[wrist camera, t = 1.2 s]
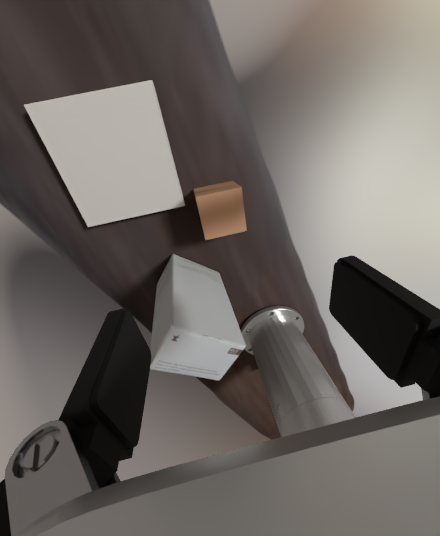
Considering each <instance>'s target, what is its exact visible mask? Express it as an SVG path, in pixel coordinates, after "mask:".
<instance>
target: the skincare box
mask: <svg viewBox="0 0 440 536" xmlns="http://www.w3.org/2000/svg"><path fill="white" fill-rule="evenodd" d="M245 347H246V344H245V341H244V339H243V336H242V333H241V331H240V328H239V325H238V323H237V320H236V317H235V315H234V312H233V309H232V306H231V304H230V301H229V298H228V296H227V293H226V290H225V288H224V285H223V282H222V279H221V277H220V274H219V272H216V271H214V270H212V269H209V268H207V267H204V266H202V265H200V264H197V263H195V262H192V261H190V260H187V259H184V258H182V257H179V256H177V255H175V254H172V256H171V258H170V260H169V262H168V264H167V265H166V267H165V269H164V271H163V273H162V275H161V277H160V279H159V281H158V283H157V290H156V299H155V309H154V318H153V328H152V337H151V347H150V351H151V365H150V369H153V370H159V371H165V372H172V373H178V374H184V375H190V376H196V377H202V378H207V379H213V380H218V381H219V380H220V379H221V378H222V377H223V375H224V374H225V373H226V372H227V370H228V369H229V368H230V366H231V365H232V364H233V363H234V361H235V360H236V359H237V357H238V356H239V355H240V353H241V352H242V351H243V349H244V348H245Z"/></svg>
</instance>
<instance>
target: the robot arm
mask: <svg viewBox="0 0 440 536" xmlns="http://www.w3.org/2000/svg"><path fill="white" fill-rule="evenodd" d="M329 309H330V312H331V314H332V316H334V318H335V319H336V320H337V321H338V322H339V323H340V324H341V325H342V327H343V328H344V329H345V330H346V331H347V332H348V333H349V335H350V336H351V337H352V338H353V339H354V340H355V341H356V342H357V343H358V345H359V346H360V347H361V348H362V349H363V350H364V351H365V353H366V354H367V355H368V356H369V357H370V358H371V359H372V360H373V361H374V363H375V364H376V365H377V366H378V367H379V368H380V369H381V370H382V372H383V373H384V374H385V375H386V376H387V377H388V378H390V379H392V380H394V381H395V382H396V383H397V384H398V385H399V386H400V387H405V386H409V385H412V384H415V382H416V383H417V384H418V385H419V386H420V387H421V389H422V395H423V401H419V402H415V403H411V404H407V405H403V406H399V407H395V408H392V409H388V410H384V411H380V412H377V413H372V414H368V415H365V416H361V417H357V418H356V417H355V416H354V414H353V413H352V411H351V409H350V408H349V406H348V405H347V403H346V402H345V400H344V399H343V397H342V395H341V394H340V392H339V391H338V389H337V388H336V386H335V384H334V383H333V381H332V380H331V378H330V377H329V375H328V373H327V372H326V370H325V369H324V367H323V366H322V364H321V363H320V361H319V359H318V358H317V356H316V355H315V353H314V352H313V350H312V348H311V347H310V345H309V344H308V342H307V341H306V339H305V337H304V336H303V334H302V333H303V331H304V321H303V319H302V317H301V316H300V314H299V313H298V312H297V311H296V310H294V309H292V308H290V307H287V306H272V307H268V308H265V309H262V310H260V311H258V312H256V313H255V314H253V315H252V316H251V317H249V318H248V319H247V320H246V322H245V323H244V324H243V326H242V328H241V333H242V336H243V339H244V341H245V344H246V347H245V348H244V349H245V350H246V351H247V352H248V353H250V354H252V355H254V357H255V360H256V363H257V366H258V369H259V372H260V375H261V378H262V381H263V384H264V387H265V389H266V392H267V395H268V398H269V401H270V404H271V407H272V410H273V413H274V416H275V419H276V422H277V425H278V428H279V431H280V434H281V438H277V439H273V440H269V441H266V442H262V443H259V444H254V445H251V446H247V447H243V448H239V449H236V450H232V451H229V452H225V453H221V454H217V455H213V456H210V457H206V458H203V459H199V460H195V461H191V462H188V463H184V464H180V465H176V466H173V467H169V468H166V469H162V470H159V471H155V472H152V473H149V474H145V475H142V476H138V477H135V478H131V479H128V480H124V481H120V479H119V477H118V476H117V474H116V471H117V468H118V463H119V461H121V460H125V459H128V458H132V453H133V447H135V446H137V444H138V440H139V434H140V429H141V422H142V416H143V409H144V403H145V396H146V390H147V384H148V376H149V371H150V365H151V351H150V349H149V347H148V345H147V343H146V341H145V339H144V338H143V336H142V334H141V332H140V330H139V328H138V326H137V324H136V322H135V320H134V318H133V316H132V314H131V313H130V311H126V310H125V309H119V310H115V311H111V312H109V313H108V314H107V317H106V319H105V321H104V323H103V325H102V328H101V330H100V332H99V334H98V336H97V338H96V341H95V342H94V345H93V347H92V349H91V351H90V354H89V356H88V358H87V360H86V362H85V364H84V366H83V368H82V371H81V373H80V375H79V377H78V379H77V381H76V384H75V386H74V388H73V390H72V392H71V394H70V396H69V399H68V401H67V403H66V405H65V407H64V409H63V411H62V414H61V416H60V418H59V420H56V421H50V422H47V423H45V424H43V425H41V426H40V427H38V428H37V429H35V430H34V431H33V432H31V433H30V434H29V435H28V436H27V437H26V438H25V439H24V440H23V441H22V442H21V444H20V445H19V446H18V447H17V448H16V450H15V451H14V453H13V455H12V456H11V458H10V459H9V462H8V465H7V467H6V471H5V479H4V480H3V481H2V482H1V483H0V536H440V309H438V308H436V307H435V306H433V305H431V304H430V303H428V302H427V301H425V300H423V299H422V298H420V297H419V296H417V295H416V294H414V293H412V292H411V291H409V290H408V289H406V288H404V287H403V286H401V285H400V284H398V283H396V282H395V281H393V280H392V279H390V278H389V277H387V276H385V275H384V274H382V273H381V272H379V271H377V270H376V269H374V268H373V267H371V266H369V265H368V264H366V263H365V262H363V261H361V260H360V259H358V258H357V257H355V256H348V257H344V258H340V259H338V261H337V263H335V265H334V272H333V280H332V289H331V298H330V305H329Z"/></svg>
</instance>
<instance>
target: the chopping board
mask: <svg viewBox="0 0 440 536" xmlns="http://www.w3.org/2000/svg"><path fill="white" fill-rule="evenodd" d="M24 107H25V108H26V110H27V112H28V114H29V116H30V118H31V120H32V122H33V124H34V126H35V127H36V129H37V131H38V133H39V135H40V137H41V139H42V141H43V143H44V145H45V146H46V148H47V150H48V152H49V154H50V156H51V158H52V160H53V162H54V164H55V165H56V167H57V169H58V171H59V173H60V175H61V177H62V179H63V181H64V183H65V184H66V186H67V188H68V190H69V192H70V194H71V196H72V198H73V200H74V202H75V203H76V205H77V207H78V209H79V211H80V213H81V215H82V217H83V219H84V220H85V222H86V224H87V226H88V227H91V226H96V225H100V224H105V223H109V222H114V221H118V220H123V219H128V218H132V217H137V216H141V215H146V214H150V213H155V212H159V211H164V210H168V209H173V208H178V207H182V206H185V202H184V198H183V195H182V191H181V187H180V183H179V179H178V175H177V172H176V168H175V164H174V160H173V156H172V152H171V148H170V145H169V141H168V137H167V133H166V129H165V125H164V122H163V118H162V114H161V110H160V106H159V102H158V99H157V95H156V91H155V87H154V83H153V81H152V80H150V81H145V82H139V83H134V84H129V85H124V86H119V87H114V88H108V89H103V90H98V91H93V92H88V93H82V94H77V95H72V96H67V97H62V98H57V99H51V100H46V101H41V102H36V103H31V104H26V105H24Z"/></svg>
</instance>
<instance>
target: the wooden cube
mask: <svg viewBox="0 0 440 536" xmlns="http://www.w3.org/2000/svg"><path fill="white" fill-rule="evenodd" d="M194 193H195V198H196V202H197V206H198V211H199V215H200V219H201V224H202V228H203V232H204V236H205V240H208V239H213V238H217V237H221V236H226V235H230V234H235V233H239V232H243V231H247V229H246V221H245V212H244V204H243V196H242V187H241V186H239V185H238V184H236V183H235V182H233V181H228V182H224V183H219V184H214V185H210V186H205V187H201V188H196V189H194Z"/></svg>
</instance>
